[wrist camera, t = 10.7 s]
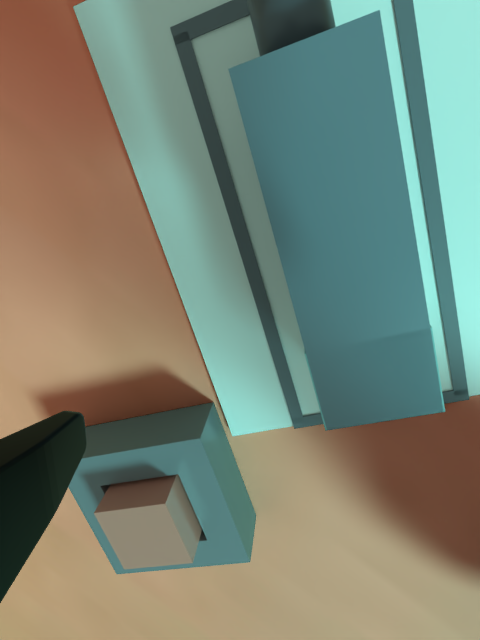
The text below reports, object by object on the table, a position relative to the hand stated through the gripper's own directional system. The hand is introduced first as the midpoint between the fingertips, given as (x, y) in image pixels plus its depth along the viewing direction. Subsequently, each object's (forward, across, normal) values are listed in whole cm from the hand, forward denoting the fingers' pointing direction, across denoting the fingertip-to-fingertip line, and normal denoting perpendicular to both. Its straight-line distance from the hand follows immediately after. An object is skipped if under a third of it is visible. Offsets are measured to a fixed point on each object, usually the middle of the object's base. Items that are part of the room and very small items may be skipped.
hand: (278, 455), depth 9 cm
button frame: (+11, +6, +11) cm, 17 cm away
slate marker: (+10, -2, -3) cm, 11 cm away
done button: (+9, +6, +11) cm, 16 cm away
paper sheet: (+11, -1, -4) cm, 12 cm away
